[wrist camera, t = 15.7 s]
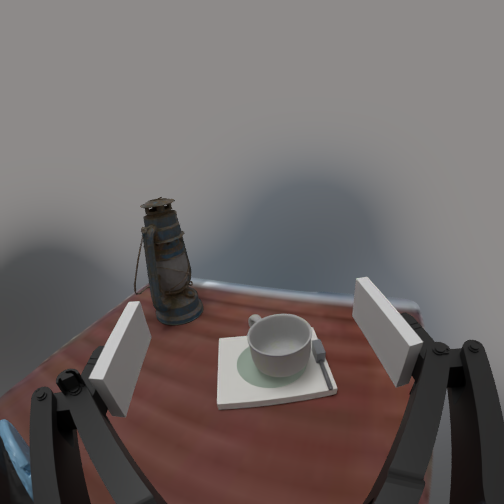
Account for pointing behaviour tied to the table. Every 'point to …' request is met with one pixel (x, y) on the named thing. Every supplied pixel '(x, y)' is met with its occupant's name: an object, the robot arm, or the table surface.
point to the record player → (268, 377)
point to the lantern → (168, 265)
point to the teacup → (279, 344)
